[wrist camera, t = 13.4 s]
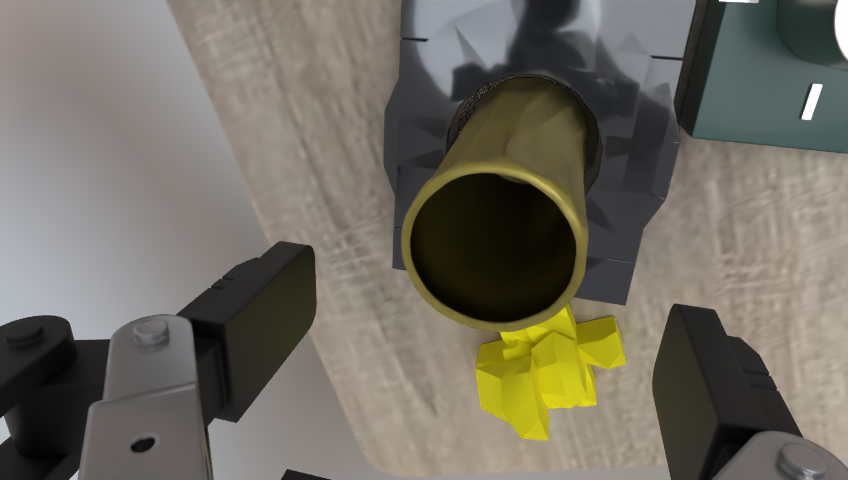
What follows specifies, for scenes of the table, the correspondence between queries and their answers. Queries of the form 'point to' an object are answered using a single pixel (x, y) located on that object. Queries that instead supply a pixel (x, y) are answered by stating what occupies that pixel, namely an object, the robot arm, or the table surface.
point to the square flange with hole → (567, 64)
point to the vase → (504, 212)
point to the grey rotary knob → (816, 30)
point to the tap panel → (761, 85)
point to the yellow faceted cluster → (545, 369)
